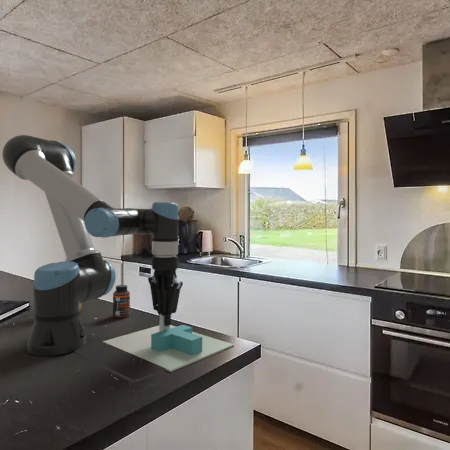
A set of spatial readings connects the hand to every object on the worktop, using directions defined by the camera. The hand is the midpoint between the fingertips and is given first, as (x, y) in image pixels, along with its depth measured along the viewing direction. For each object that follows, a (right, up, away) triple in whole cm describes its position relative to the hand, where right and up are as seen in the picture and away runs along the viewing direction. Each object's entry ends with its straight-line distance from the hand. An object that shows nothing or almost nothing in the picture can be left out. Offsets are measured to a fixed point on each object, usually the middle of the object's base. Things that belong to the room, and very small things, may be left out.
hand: (164, 335), depth 112 cm
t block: (+6, -2, -5) cm, 8 cm away
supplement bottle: (-20, -1, +28) cm, 35 cm away
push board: (+1, -2, -1) cm, 3 cm away
